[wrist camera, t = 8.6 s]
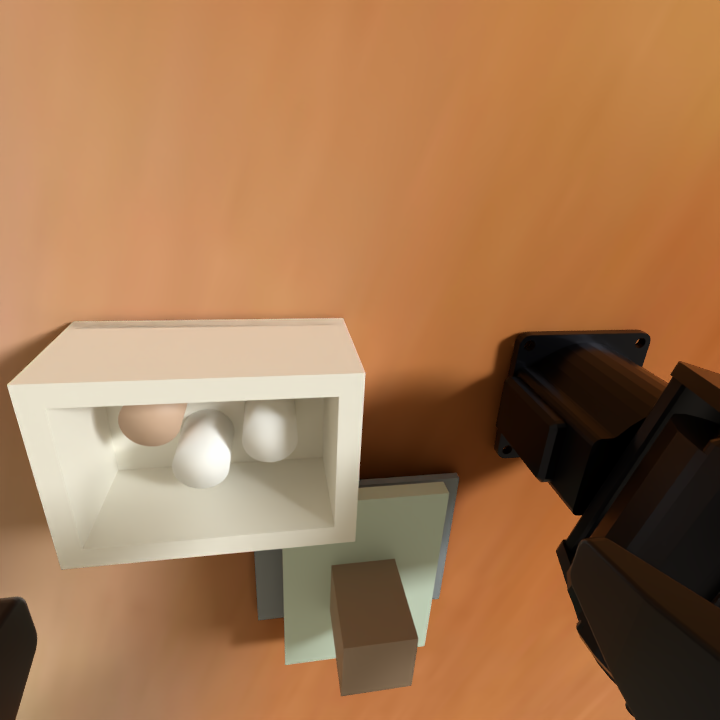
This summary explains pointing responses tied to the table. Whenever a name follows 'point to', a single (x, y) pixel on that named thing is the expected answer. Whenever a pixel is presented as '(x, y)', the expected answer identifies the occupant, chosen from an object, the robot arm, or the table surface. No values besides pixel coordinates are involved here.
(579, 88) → the table surface
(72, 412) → the caddy
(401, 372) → the table surface
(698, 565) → the robot arm
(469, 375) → the table surface
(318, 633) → the lid
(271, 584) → the mat
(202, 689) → the table surface
